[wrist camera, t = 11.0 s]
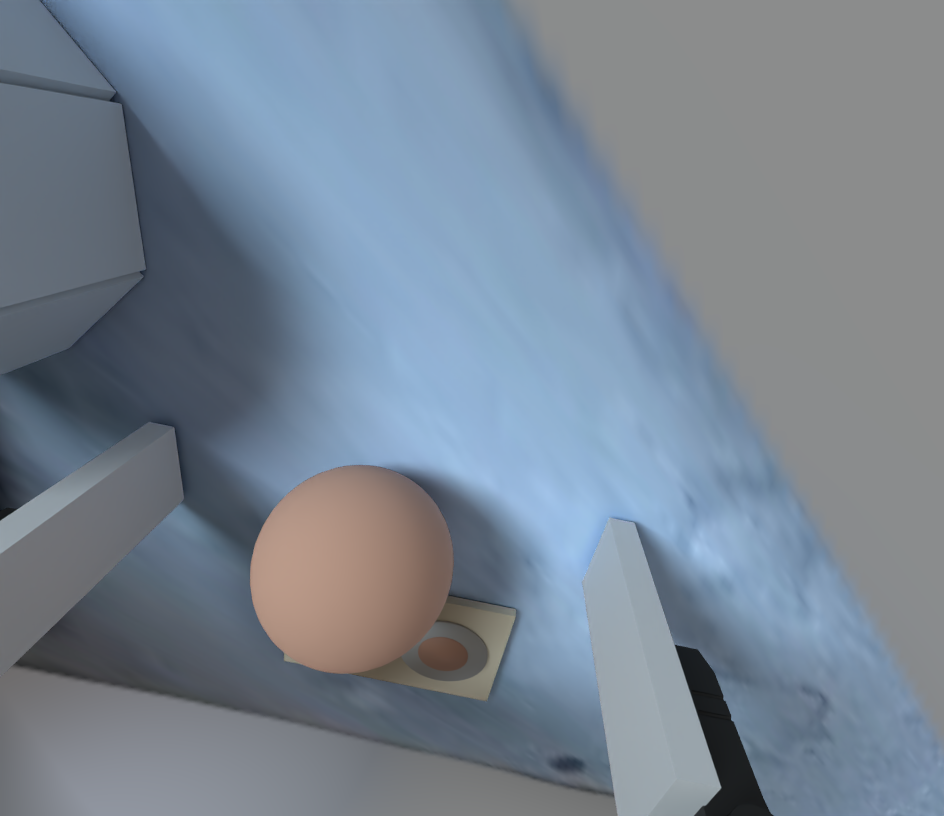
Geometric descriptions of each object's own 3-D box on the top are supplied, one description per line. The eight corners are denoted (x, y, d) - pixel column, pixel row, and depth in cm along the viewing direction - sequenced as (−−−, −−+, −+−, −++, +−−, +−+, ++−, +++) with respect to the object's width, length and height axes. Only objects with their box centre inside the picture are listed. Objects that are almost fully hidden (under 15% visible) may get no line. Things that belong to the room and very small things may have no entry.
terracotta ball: (301, 544, 15) (213, 696, 11) (303, 414, 13) (191, 540, 8) (449, 573, 15) (421, 737, 11) (477, 450, 13) (456, 594, 9)
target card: (287, 653, 18) (281, 665, 18) (286, 562, 16) (280, 573, 15) (487, 693, 18) (486, 706, 18) (516, 609, 16) (515, 621, 15)
